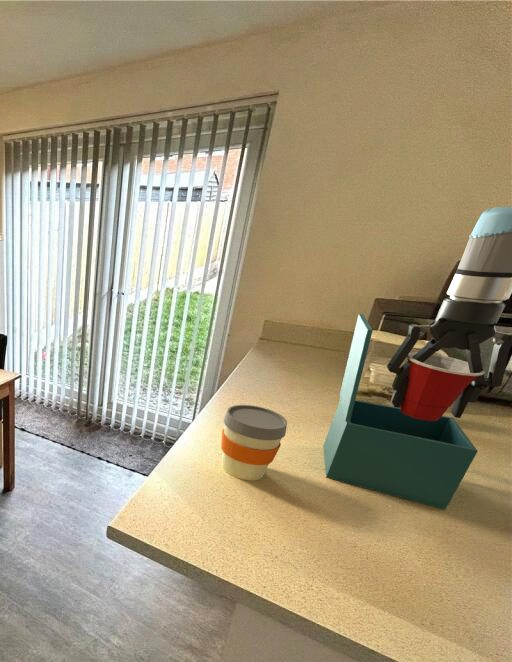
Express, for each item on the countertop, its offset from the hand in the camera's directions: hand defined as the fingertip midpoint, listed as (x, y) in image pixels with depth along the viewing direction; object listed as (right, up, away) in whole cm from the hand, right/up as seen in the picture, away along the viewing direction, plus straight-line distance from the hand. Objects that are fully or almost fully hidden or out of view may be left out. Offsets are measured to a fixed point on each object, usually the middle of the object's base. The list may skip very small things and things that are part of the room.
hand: (424, 409), depth 80 cm
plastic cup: (0, -1, +1) cm, 1 cm away
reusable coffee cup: (-27, -16, +17) cm, 36 cm away
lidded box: (+4, -17, +14) cm, 22 cm away
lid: (-5, +9, +10) cm, 14 cm away
